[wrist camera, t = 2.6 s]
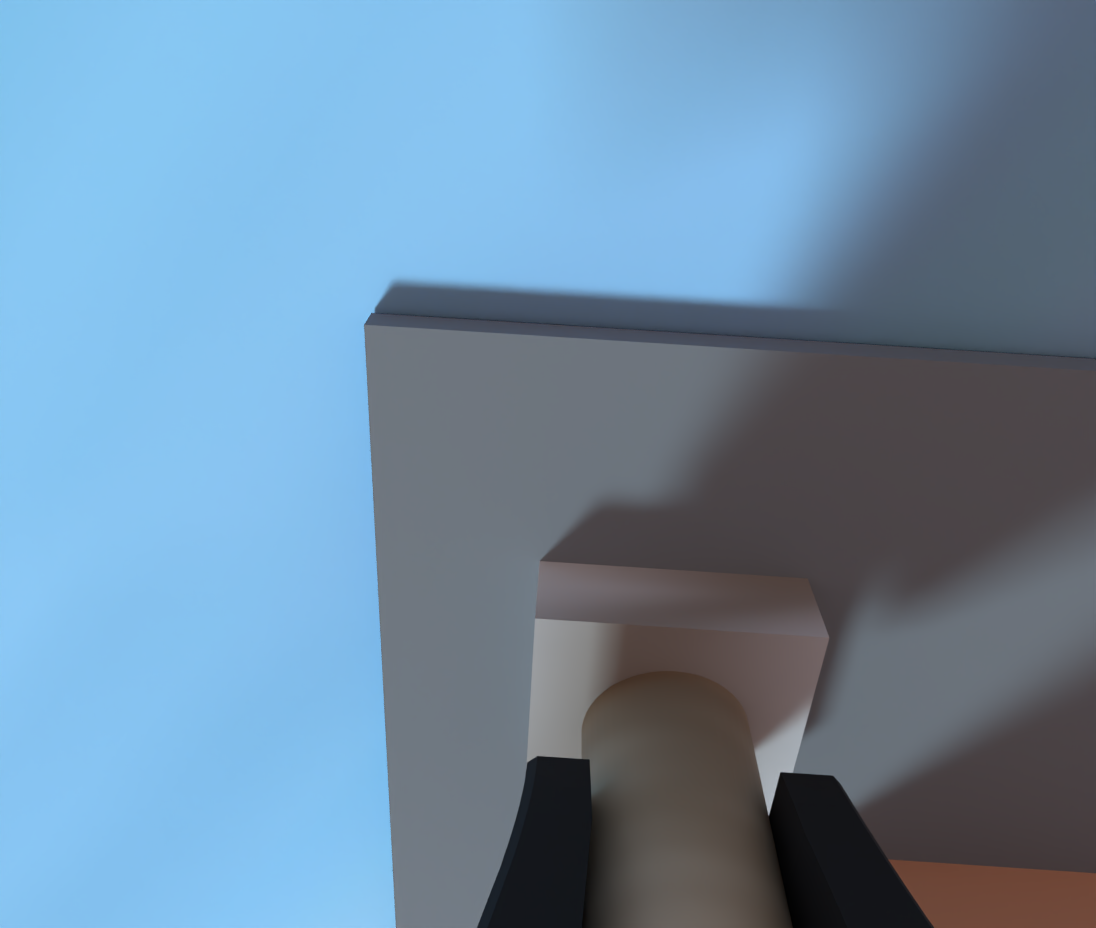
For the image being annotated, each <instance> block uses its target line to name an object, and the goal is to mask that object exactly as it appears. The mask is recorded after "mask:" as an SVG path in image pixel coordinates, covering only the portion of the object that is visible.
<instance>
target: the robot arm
mask: <svg viewBox="0 0 1096 928" xmlns="http://www.w3.org/2000/svg"><path fill="white" fill-rule="evenodd" d="M769 820H770V824H771V829H772V834H773V838H774V843H775V847H776V852H777V857H778V861H779V866H780V870H781V875H782V880H783V884H784V889H785V893H786V898H787V903H788V907H789V912H790V916H791V921H792V926H793V928H934V927H933V925H932V924H931V922H930V921H929V920H928V918H927V917H926V915H925V914H924V912H923V911H922V909H921V908H920V906H919V905H918V903H917V902H916V901H915V899H914V898H913V896H912V895H911V893H910V892H909V890H908V889H907V887H906V886H905V884H904V883H903V881H902V880H901V878H900V877H899V875H898V873H897V872H896V870H895V869H894V867H893V866H892V864H891V863H890V861H889V860H888V858H887V857H886V855H885V854H884V852H883V851H882V849H881V847H880V846H879V844H878V843H877V841H876V840H875V838H874V837H873V835H872V833H871V832H870V830H869V829H868V827H867V826H866V824H865V822H864V821H863V819H862V818H861V816H860V814H859V813H858V811H857V810H856V808H855V806H854V805H853V803H852V802H851V800H850V798H849V797H848V795H847V793H846V792H845V790H844V789H843V787H842V785H841V784H840V783H839V781H838V780H837V779H836V778H835V777H834V776H832V775H817V774H802V773H787V772H780V775H779V779H778V783H777V787H776V791H775V794H774V798H773V802H772V806H771V810H770V814H769ZM591 825H592V800H591V777H590V759H576V758H561V757H545V756H537V757H535V758H533V759H532V760H530V761H529V762H527V768H526V775H525V782H524V787H523V792H522V796H521V800H520V805H519V809H518V812H517V816H516V820H515V823H514V826H513V830H512V833H511V836H510V839H509V842H508V845H507V848H506V851H505V854H504V858H503V861H502V864H501V866H500V869H499V872H498V874H497V877H496V880H495V882H494V885H493V887H492V890H491V892H490V895H489V898H488V900H487V903H486V905H485V908H484V911H483V913H482V916H481V918H480V921H479V923H478V926H477V928H582V919H583V909H584V899H585V888H586V878H587V867H588V857H589V846H590V836H591Z"/></svg>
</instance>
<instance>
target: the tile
mask: <svg viewBox="0 0 1096 928" xmlns="http://www.w3.org/2000/svg"><path fill="white" fill-rule="evenodd" d="M888 860H889V859H888ZM889 861H890V863H891V864H892V866H893V867H894V869H895V870H896V872H897V873H898V875H899V877H900V878H901V880H902V881H903V883H904V884H905V886H906V887H907V889H908V890H909V892H910V893H911V895H912V896H913V898H914V899H915V901H916V902H917V903H918V905H919V906H920V908H921V909H922V911H923V912H924V914H925V915H926V917H927V918H928V920H929V921H930V922H931V924H932V925H933V927H934V928H1096V873H1084V872H1069V871H1054V870H1039V869H1024V868H1009V867H994V866H979V865H964V864H949V863H934V862H919V861H904V860H889Z"/></svg>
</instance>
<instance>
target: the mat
mask: <svg viewBox="0 0 1096 928" xmlns="http://www.w3.org/2000/svg"><path fill="white" fill-rule="evenodd" d="M364 330H365V349H366V368H367V386H368V405H369V424H370V443H371V462H372V481H373V500H374V519H375V538H376V557H377V576H378V595H379V614H380V633H381V652H382V671H383V690H384V709H385V728H386V747H387V766H388V785H389V804H390V823H391V842H392V861H393V880H394V899H395V918H396V928H477V926H478V923H479V921H480V918H481V916H482V913H483V911H484V908H485V905H486V903H487V900H488V898H489V895H490V892H491V890H492V887H493V885H494V882H495V880H496V877H497V874H498V872H499V869H500V866H501V864H502V861H503V858H504V854H505V851H506V848H507V845H508V842H509V839H510V836H511V833H512V830H513V826H514V823H515V820H516V816H517V812H518V809H519V805H520V800H521V796H522V792H523V787H524V782H525V775H526V766H527V749H528V732H529V715H530V697H531V680H532V663H533V646H534V629H535V613H536V600H537V587H538V574H539V561H546V562H561V563H577V564H592V565H608V566H623V567H639V568H654V569H669V570H685V571H700V572H716V573H731V574H747V575H762V576H778V577H793V578H808V581H809V583H810V586H811V589H812V592H813V594H814V597H815V600H816V603H817V605H818V608H819V611H820V613H821V616H822V619H823V622H824V624H825V627H826V630H827V632H828V635H829V641H828V645H827V648H826V652H825V656H824V659H823V663H822V667H821V671H820V674H819V678H818V682H817V685H816V689H815V693H814V696H813V700H812V704H811V707H810V711H809V715H808V718H807V722H806V726H805V729H804V733H803V737H802V740H801V744H800V748H799V752H798V755H797V759H796V763H795V766H794V770H793V773H802V774H817V775H832V776H834V777H835V778H836V779H837V780H838V781H839V783H840V784H841V785H842V787H843V789H844V790H845V792H846V793H847V795H848V797H849V798H850V800H851V802H852V803H853V805H854V806H855V808H856V810H857V811H858V813H859V814H860V816H861V818H862V819H863V821H864V822H865V824H866V826H867V827H868V829H869V830H870V832H871V833H872V835H873V837H874V838H875V840H876V841H877V843H878V844H879V846H880V847H881V849H882V851H883V852H884V854H885V855H886V857H887V858H888V859H889V860H904V861H919V862H934V863H949V864H964V865H979V866H994V867H1009V868H1024V869H1039V870H1054V871H1069V872H1084V873H1096V359H1090V358H1074V357H1059V356H1043V355H1027V354H1011V353H995V352H979V351H964V350H948V349H932V348H916V347H900V346H884V345H868V344H853V343H837V342H821V341H805V340H789V339H773V338H757V337H742V336H726V335H710V334H694V333H678V332H662V331H647V330H631V329H615V328H599V327H583V326H567V325H551V324H536V323H520V322H504V321H488V320H472V319H456V318H440V317H425V316H409V315H393V314H377V313H371V315H370V316H369V318H368V320H367V321H366V323H365V324H364Z"/></svg>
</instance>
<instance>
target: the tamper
mask: <svg viewBox="0 0 1096 928" xmlns="http://www.w3.org/2000/svg"><path fill="white" fill-rule="evenodd" d="M828 641H829V635H828V632H827V630H826V627H825V624H824V622H823V619H822V616H821V613H820V611H819V608H818V605H817V603H816V600H815V597H814V594H813V592H812V589H811V586H810V583H809V581H808V578H793V577H778V576H762V575H747V574H731V573H716V572H700V571H685V570H669V569H654V568H639V567H623V566H608V565H592V564H577V563H561V562H546V561H539V574H538V587H537V600H536V613H535V629H534V646H533V663H532V680H531V697H530V715H529V732H528V749H527V762H529V761H530V760H532V759H533V758H535V757H537V756H545V757H561V758H576V759H590V777H591V800H592V825H591V836H590V846H589V857H588V867H587V878H586V888H585V899H584V909H583V919H582V928H793V926H792V921H791V916H790V912H789V907H788V903H787V898H786V893H785V889H784V884H783V880H782V875H781V870H780V866H779V861H778V857H777V852H776V847H775V843H774V838H773V834H772V829H771V824H770V820H769V814H770V810H771V806H772V802H773V798H774V794H775V791H776V787H777V783H778V779H779V775H780V772H787V773H793V770H794V766H795V763H796V759H797V755H798V752H799V748H800V744H801V740H802V737H803V733H804V729H805V726H806V722H807V718H808V715H809V711H810V707H811V704H812V700H813V696H814V693H815V689H816V685H817V682H818V678H819V674H820V671H821V667H822V663H823V659H824V656H825V652H826V648H827V645H828ZM526 768H527V766H526Z"/></svg>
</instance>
